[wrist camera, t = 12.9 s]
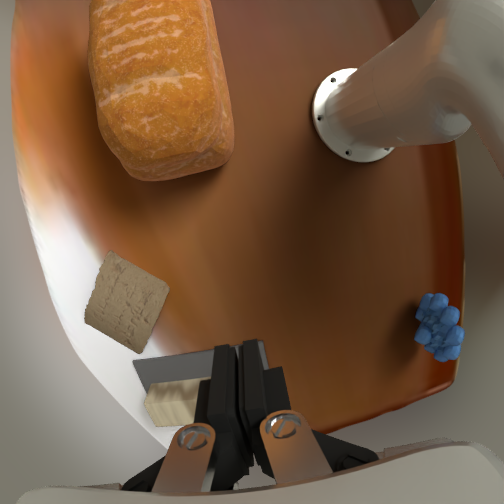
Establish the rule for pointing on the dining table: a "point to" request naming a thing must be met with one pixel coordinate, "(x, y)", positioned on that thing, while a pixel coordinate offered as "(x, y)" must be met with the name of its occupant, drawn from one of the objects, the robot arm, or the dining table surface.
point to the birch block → (173, 402)
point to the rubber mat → (181, 366)
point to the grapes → (439, 327)
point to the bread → (160, 86)
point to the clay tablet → (125, 302)
